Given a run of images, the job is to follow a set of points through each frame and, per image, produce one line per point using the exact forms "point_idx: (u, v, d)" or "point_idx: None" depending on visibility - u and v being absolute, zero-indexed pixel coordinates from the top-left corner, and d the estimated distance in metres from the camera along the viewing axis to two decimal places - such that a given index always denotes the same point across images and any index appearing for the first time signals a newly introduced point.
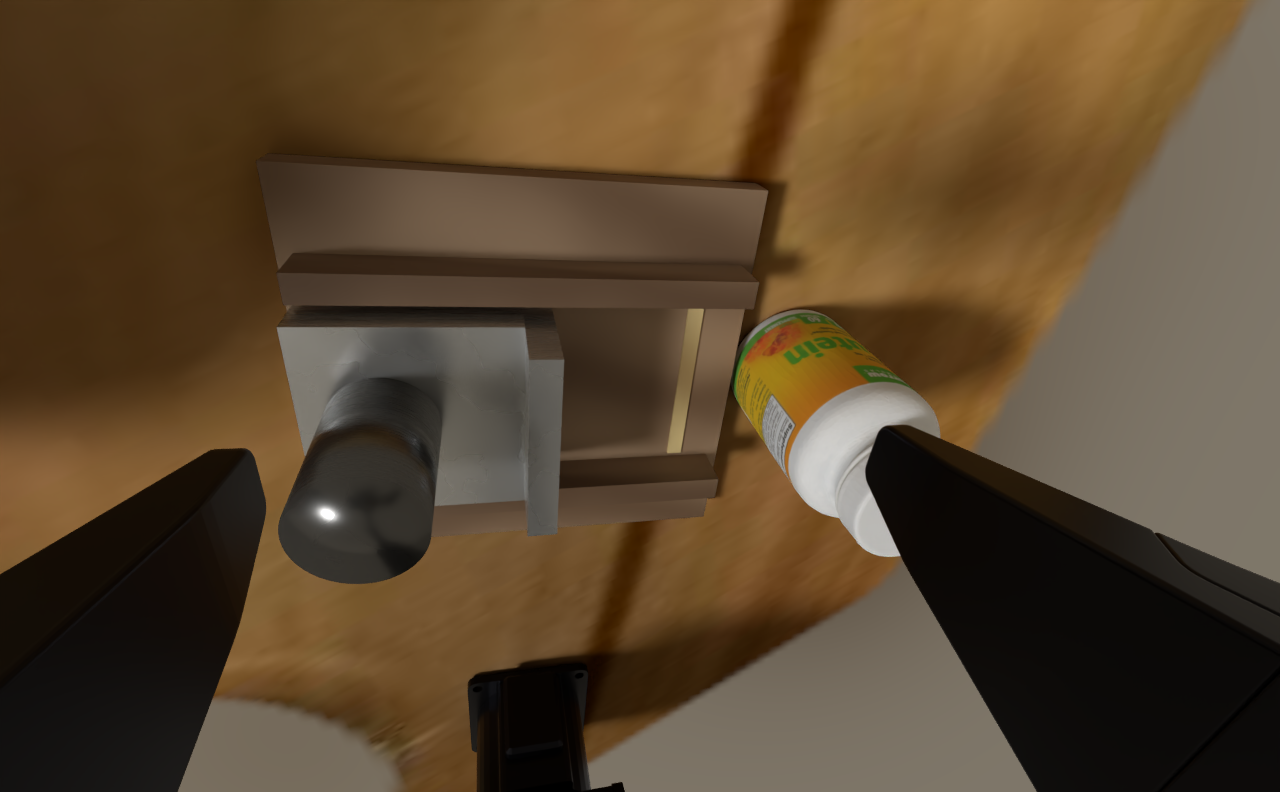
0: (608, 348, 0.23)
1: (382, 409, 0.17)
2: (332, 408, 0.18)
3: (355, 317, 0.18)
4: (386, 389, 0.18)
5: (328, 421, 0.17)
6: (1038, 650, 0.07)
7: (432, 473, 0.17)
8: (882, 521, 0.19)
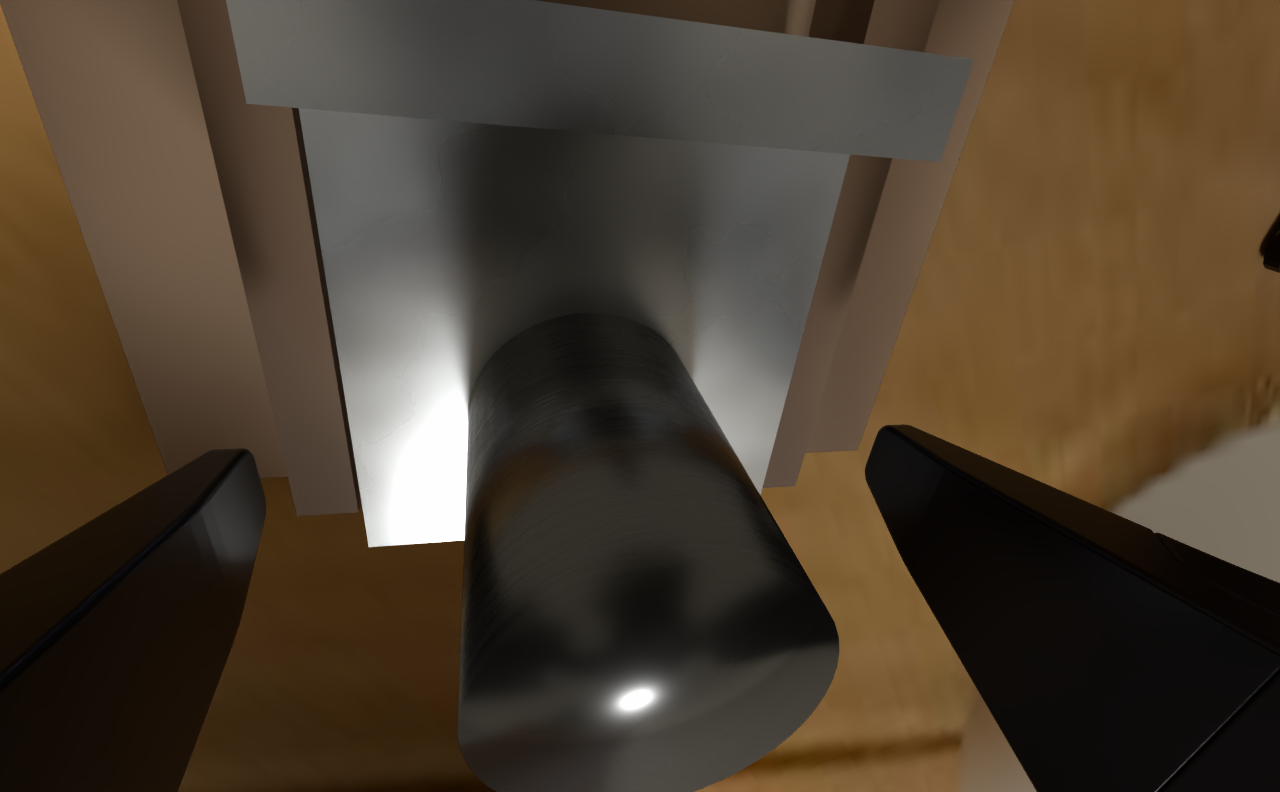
0: None
1: (469, 471, 0.08)
2: None
3: None
4: (470, 424, 0.09)
5: None
6: (1038, 650, 0.07)
7: (596, 443, 0.06)
8: None
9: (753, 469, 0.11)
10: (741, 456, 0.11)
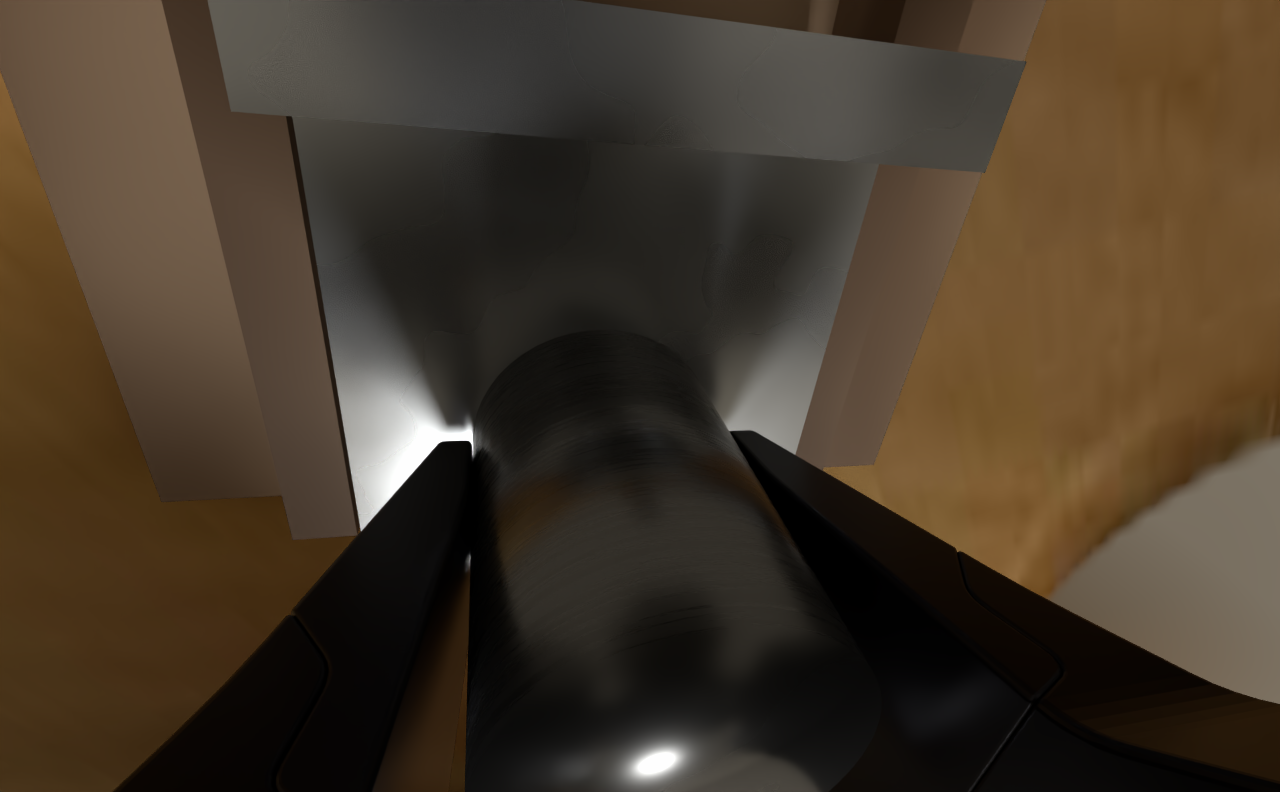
0: None
1: (474, 502, 0.07)
2: None
3: None
4: (475, 448, 0.08)
5: None
6: None
7: (614, 479, 0.06)
8: None
9: None
10: None
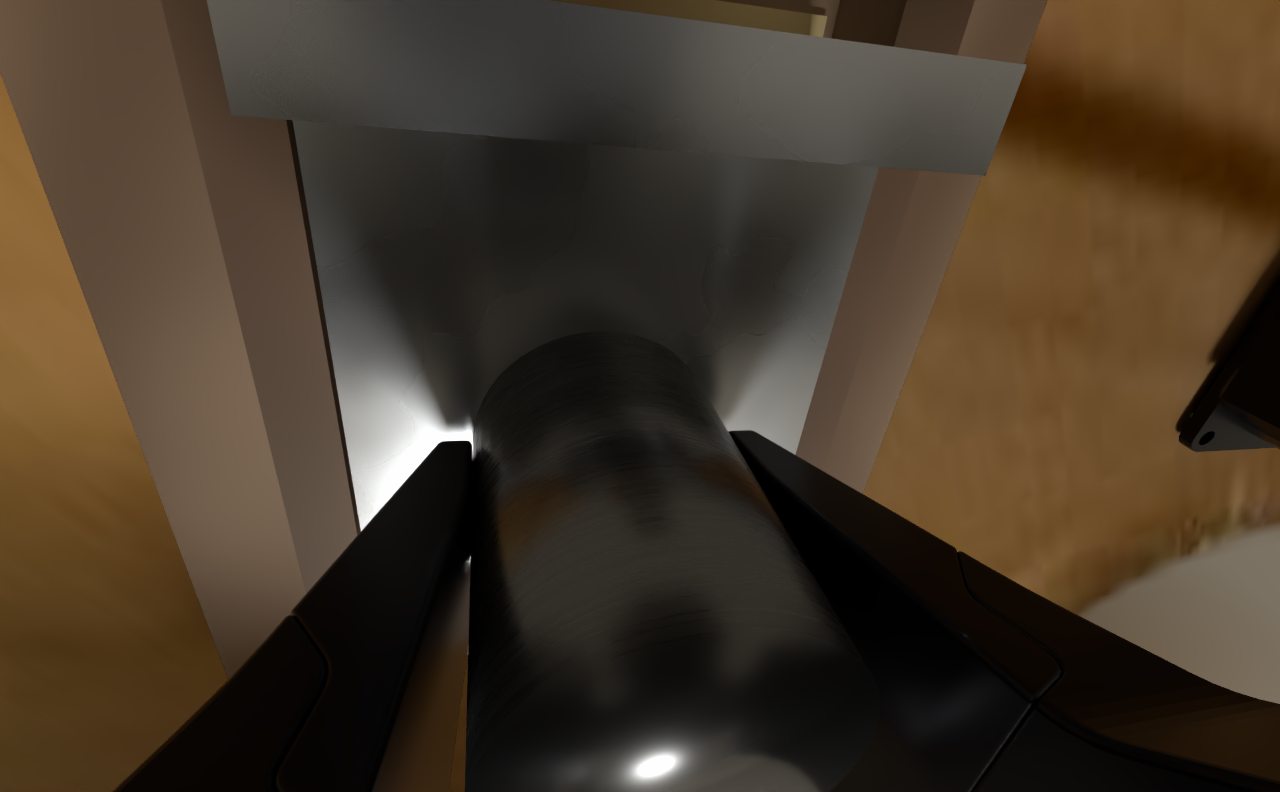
0: None
1: (474, 504, 0.07)
2: None
3: None
4: (475, 450, 0.08)
5: None
6: None
7: (614, 482, 0.06)
8: None
9: None
10: None
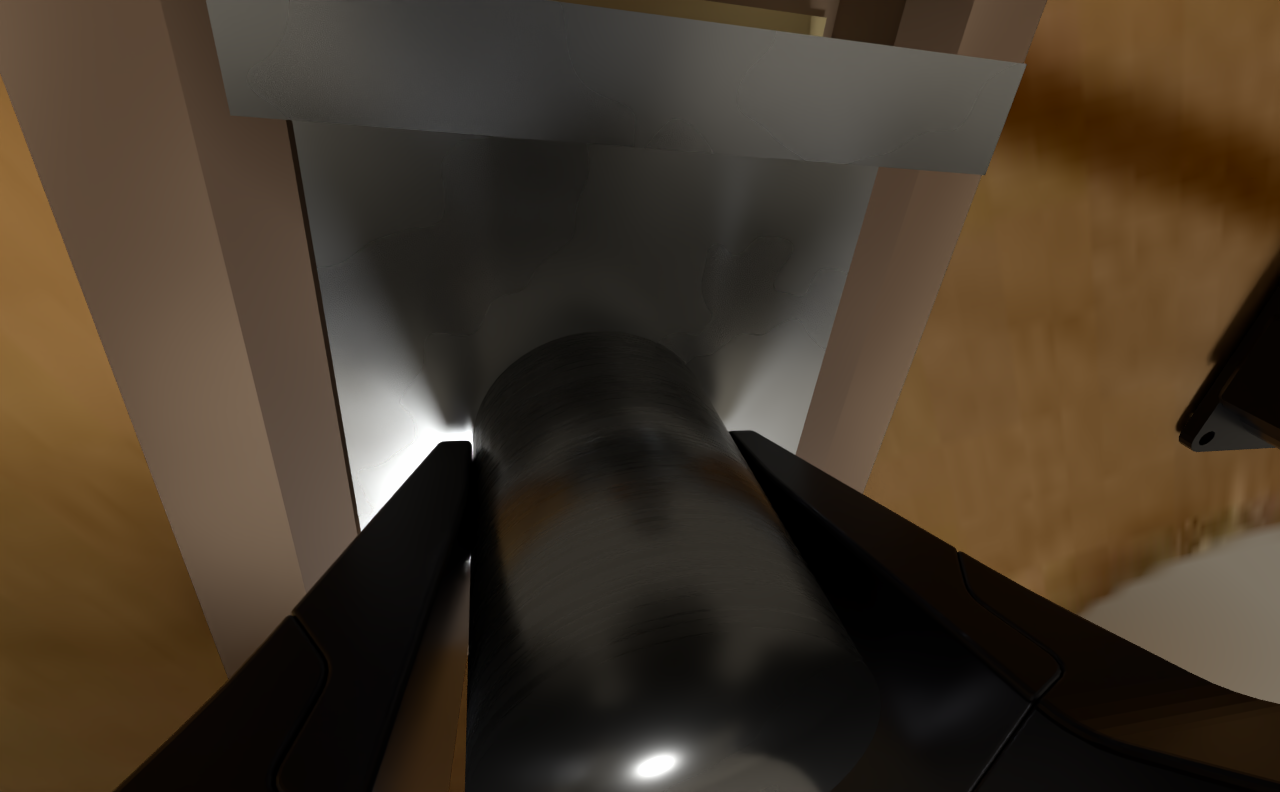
0: None
1: (474, 504, 0.07)
2: None
3: None
4: (475, 450, 0.08)
5: None
6: None
7: (613, 482, 0.06)
8: None
9: None
10: None
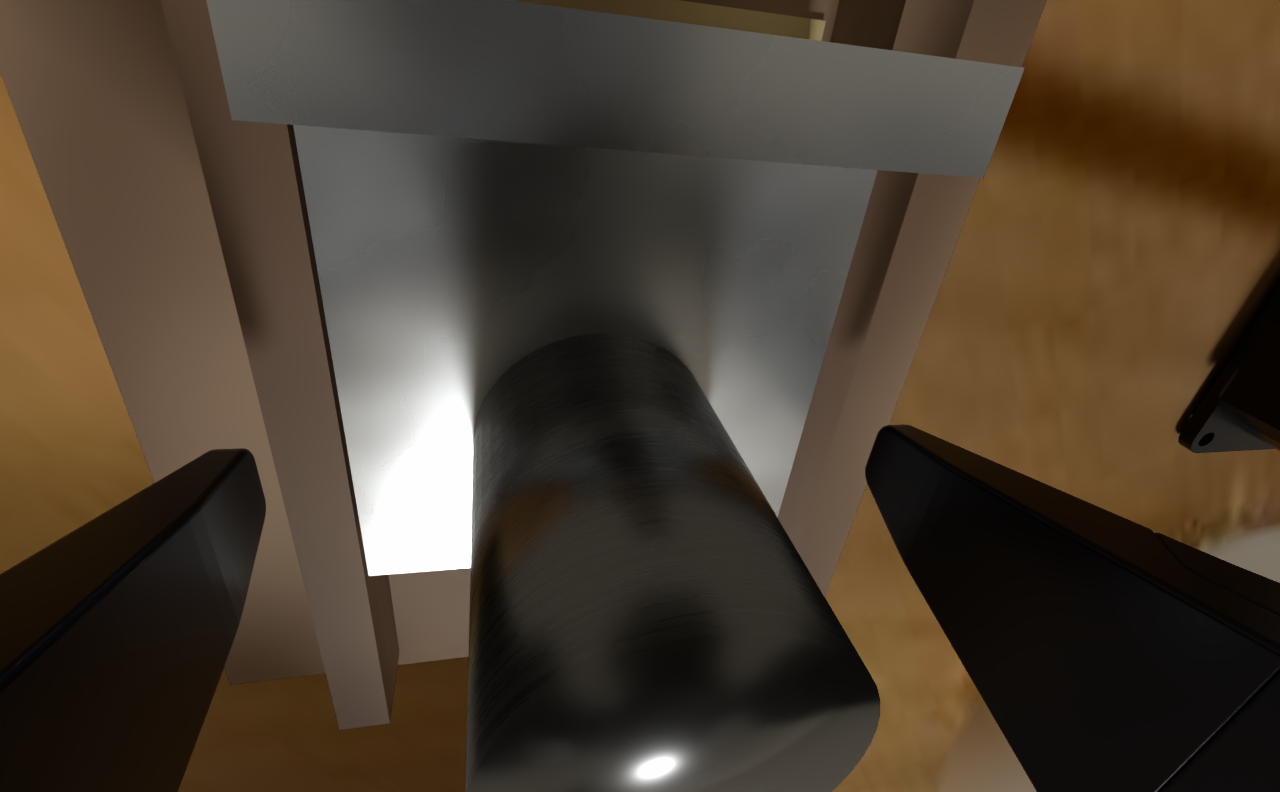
0: None
1: (474, 506, 0.07)
2: None
3: None
4: (475, 452, 0.08)
5: None
6: (1038, 650, 0.07)
7: (613, 485, 0.06)
8: None
9: (770, 492, 0.11)
10: (758, 478, 0.11)
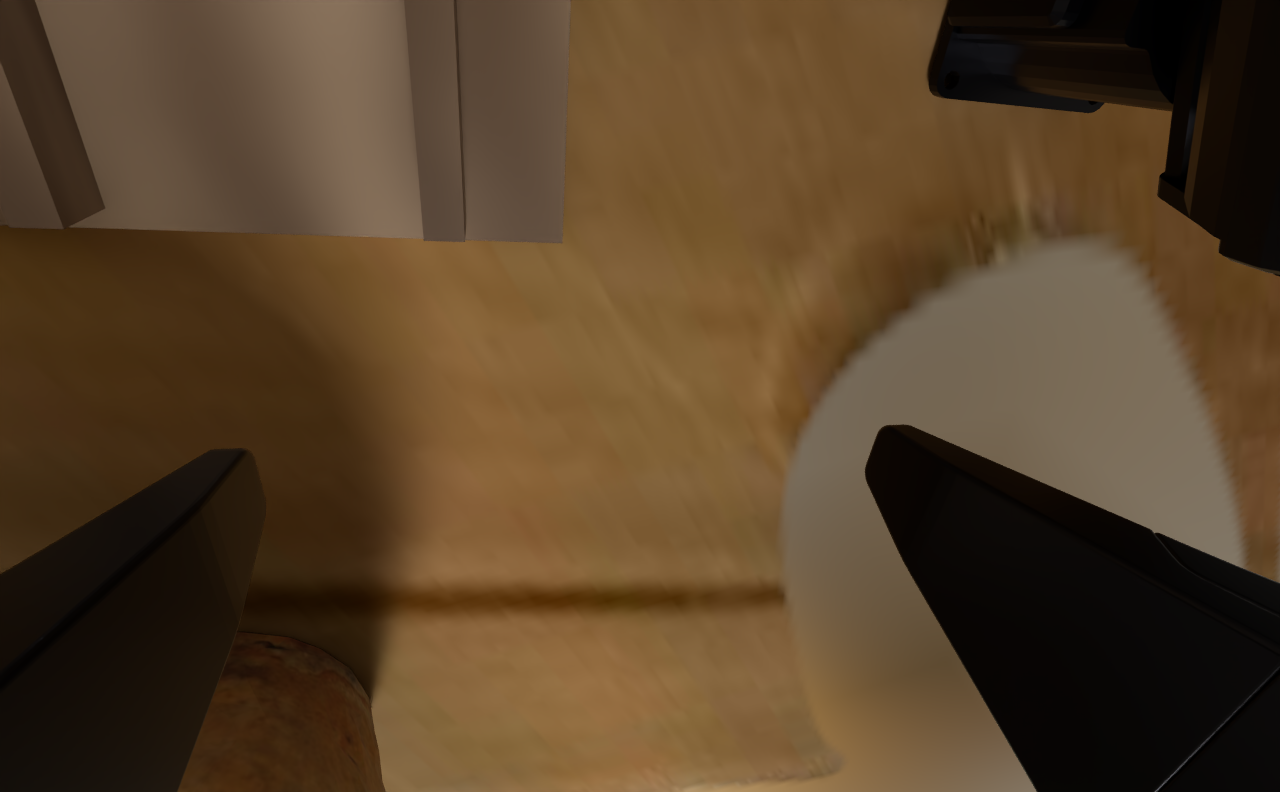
0: None
1: None
2: None
3: None
4: None
5: None
6: (1038, 650, 0.07)
7: None
8: None
9: None
10: None
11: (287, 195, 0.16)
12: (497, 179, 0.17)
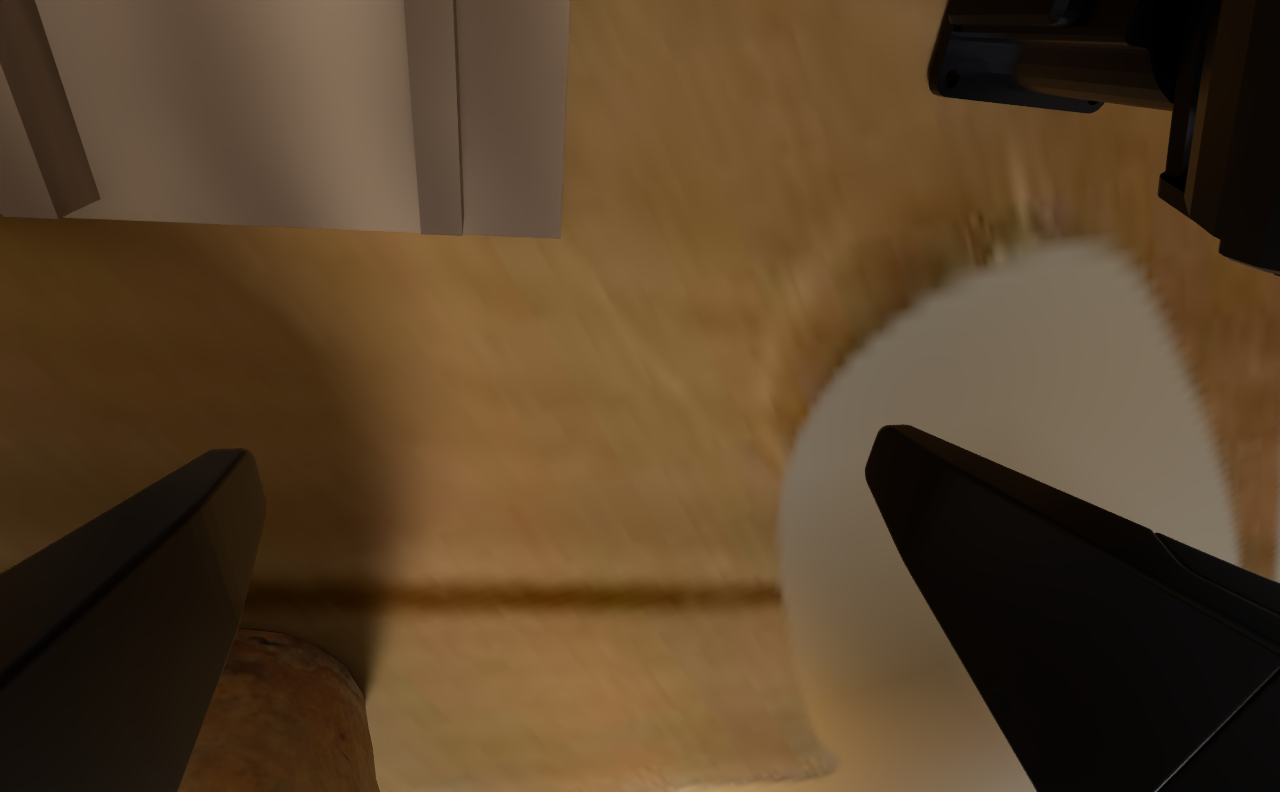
0: None
1: None
2: None
3: None
4: None
5: None
6: (1038, 650, 0.07)
7: None
8: None
9: None
10: None
11: (284, 187, 0.16)
12: (495, 173, 0.17)
